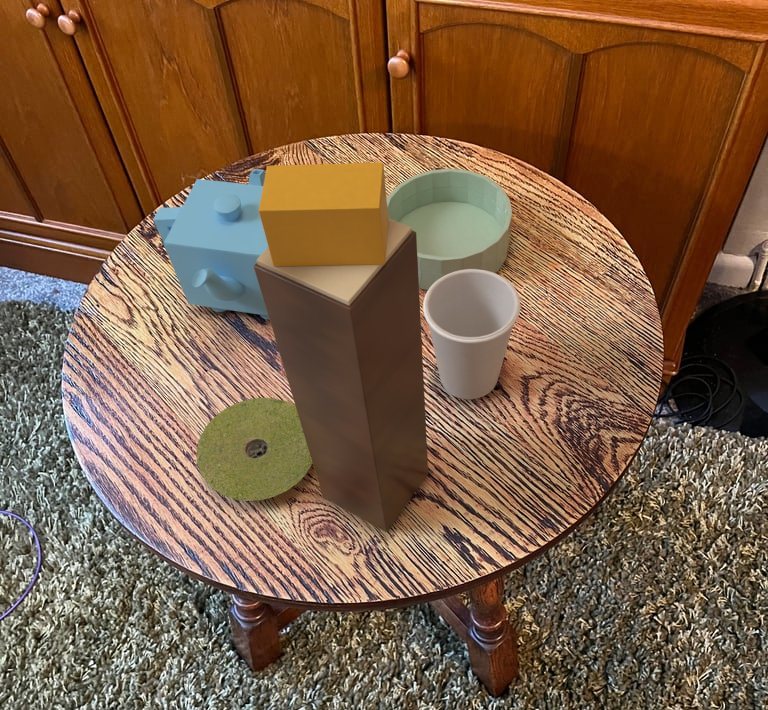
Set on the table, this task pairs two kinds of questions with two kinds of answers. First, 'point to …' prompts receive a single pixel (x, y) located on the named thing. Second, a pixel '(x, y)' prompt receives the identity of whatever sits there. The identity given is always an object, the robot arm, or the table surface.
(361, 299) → the stand
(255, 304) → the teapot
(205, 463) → the mat
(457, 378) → the dixie cup
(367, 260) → the yellow rectangular block
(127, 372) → the table surface
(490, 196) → the bowl
